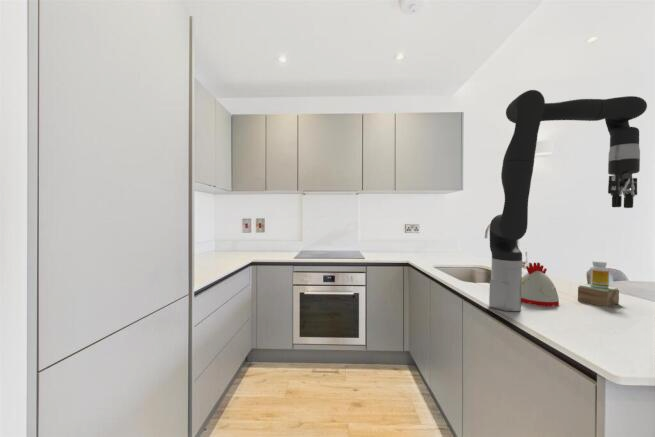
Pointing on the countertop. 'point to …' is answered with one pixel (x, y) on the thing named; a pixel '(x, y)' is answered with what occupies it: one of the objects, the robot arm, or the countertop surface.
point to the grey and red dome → (538, 287)
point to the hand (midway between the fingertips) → (622, 207)
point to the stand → (598, 295)
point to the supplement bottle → (599, 275)
